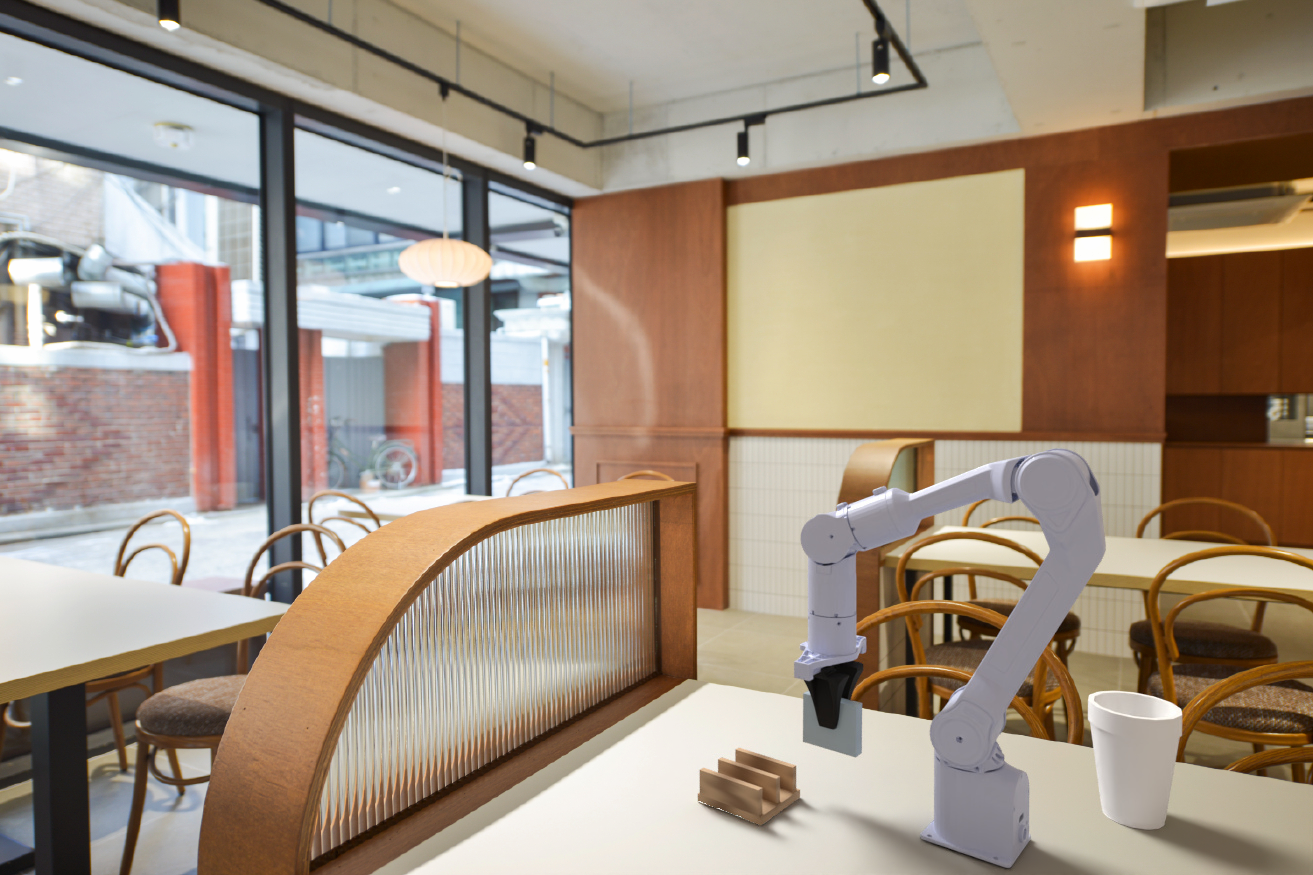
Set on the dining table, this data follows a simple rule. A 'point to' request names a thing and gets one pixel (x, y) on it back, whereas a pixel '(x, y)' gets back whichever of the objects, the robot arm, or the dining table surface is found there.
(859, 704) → the pale blue upright slab
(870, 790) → the dining table surface
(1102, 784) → the foam cup
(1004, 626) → the robot arm
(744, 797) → the rack
